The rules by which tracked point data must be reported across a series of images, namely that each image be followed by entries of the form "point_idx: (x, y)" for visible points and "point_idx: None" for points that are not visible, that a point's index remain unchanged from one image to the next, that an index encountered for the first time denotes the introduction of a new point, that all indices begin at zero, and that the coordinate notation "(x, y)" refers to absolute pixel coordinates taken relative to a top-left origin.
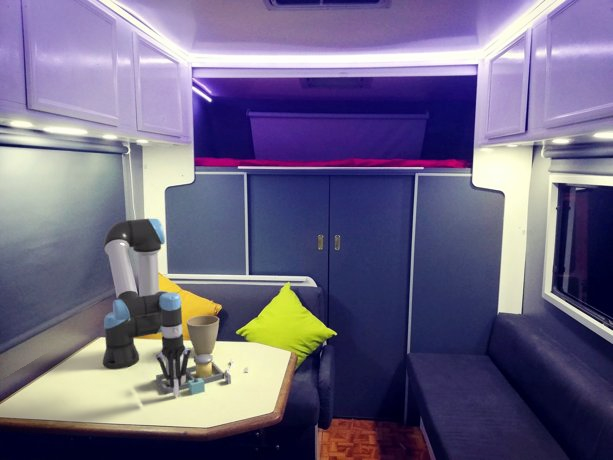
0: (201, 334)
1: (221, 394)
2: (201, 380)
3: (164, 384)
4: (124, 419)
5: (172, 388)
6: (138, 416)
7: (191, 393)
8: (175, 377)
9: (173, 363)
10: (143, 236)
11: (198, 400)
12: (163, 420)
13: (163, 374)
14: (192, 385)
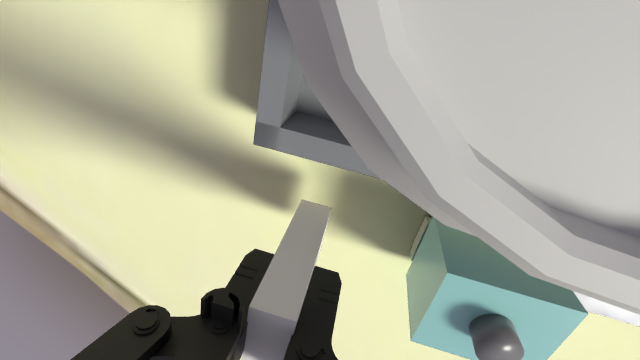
0: None
1: (554, 356)
2: (535, 351)
3: (289, 39)
4: (24, 173)
5: (320, 157)
6: (89, 200)
7: (411, 268)
8: (279, 333)
9: (397, 185)
10: None
11: None
12: (186, 308)
13: (95, 341)
14: (418, 337)
